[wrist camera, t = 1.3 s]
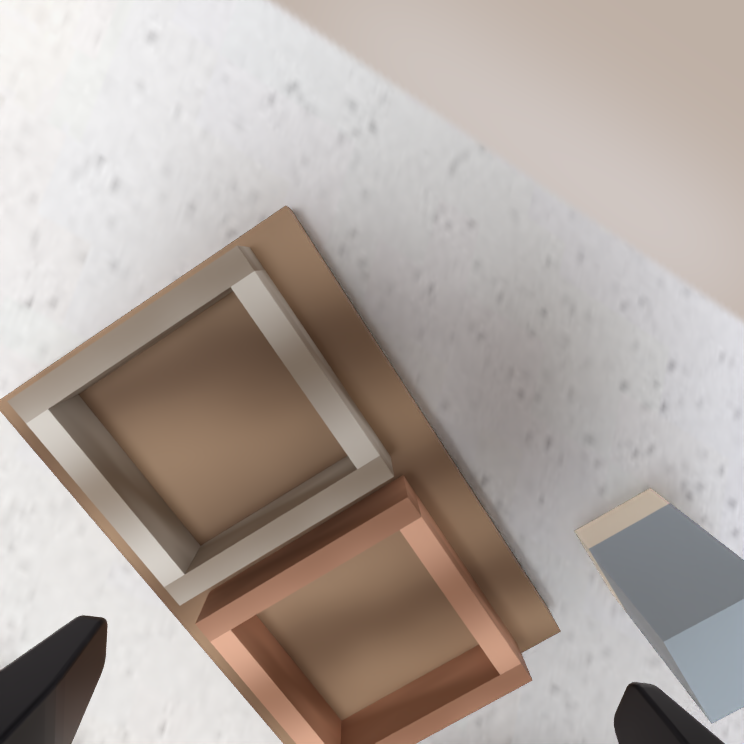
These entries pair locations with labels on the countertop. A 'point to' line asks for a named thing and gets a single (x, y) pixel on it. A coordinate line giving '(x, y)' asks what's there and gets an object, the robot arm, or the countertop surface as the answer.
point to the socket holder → (288, 499)
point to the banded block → (676, 594)
